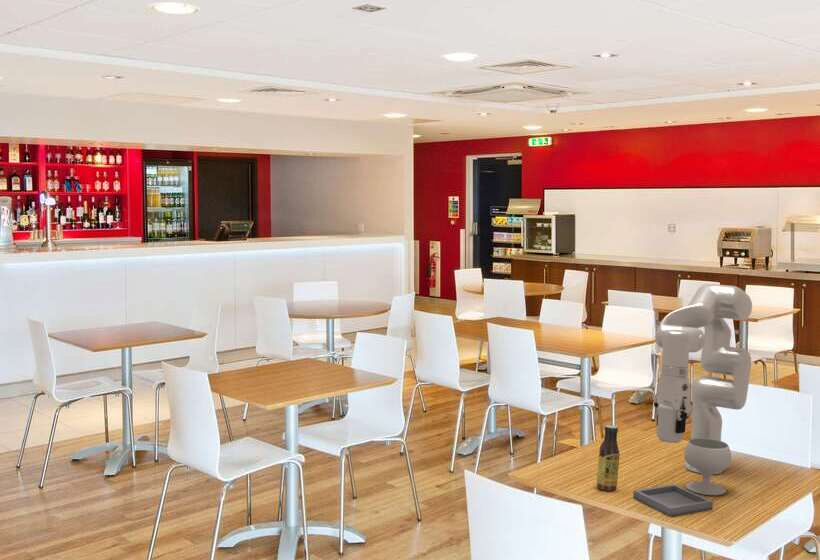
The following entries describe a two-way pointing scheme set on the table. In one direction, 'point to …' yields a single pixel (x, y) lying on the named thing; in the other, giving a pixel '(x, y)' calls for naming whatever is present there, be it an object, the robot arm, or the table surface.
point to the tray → (672, 500)
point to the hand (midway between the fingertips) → (670, 428)
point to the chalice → (707, 463)
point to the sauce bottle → (608, 460)
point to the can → (668, 424)
